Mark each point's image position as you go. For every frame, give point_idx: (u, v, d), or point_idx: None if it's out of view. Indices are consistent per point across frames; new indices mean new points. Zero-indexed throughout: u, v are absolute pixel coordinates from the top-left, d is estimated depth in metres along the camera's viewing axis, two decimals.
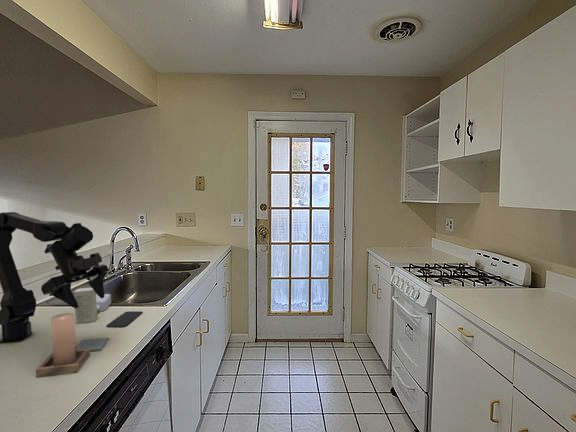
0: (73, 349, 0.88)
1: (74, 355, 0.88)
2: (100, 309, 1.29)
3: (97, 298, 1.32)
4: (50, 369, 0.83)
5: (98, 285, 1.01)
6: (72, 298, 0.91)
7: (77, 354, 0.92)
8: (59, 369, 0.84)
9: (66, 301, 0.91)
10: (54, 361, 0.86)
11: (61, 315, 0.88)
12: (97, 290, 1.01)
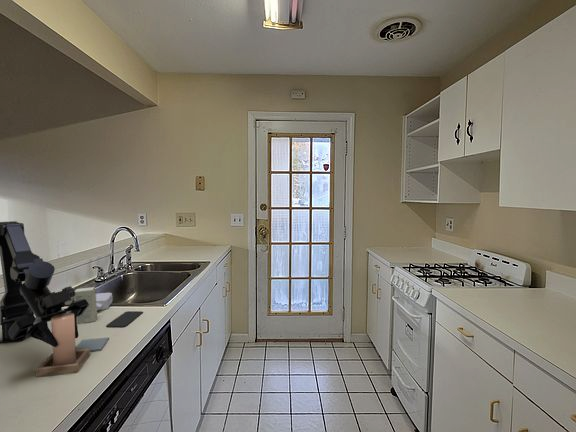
0: (73, 349, 0.88)
1: (74, 355, 0.88)
2: (102, 308, 1.31)
3: (99, 297, 1.33)
4: (50, 369, 0.83)
5: None
6: (50, 336, 0.84)
7: (77, 354, 0.92)
8: (59, 369, 0.84)
9: (45, 340, 0.85)
10: (54, 361, 0.86)
11: (61, 315, 0.88)
12: None
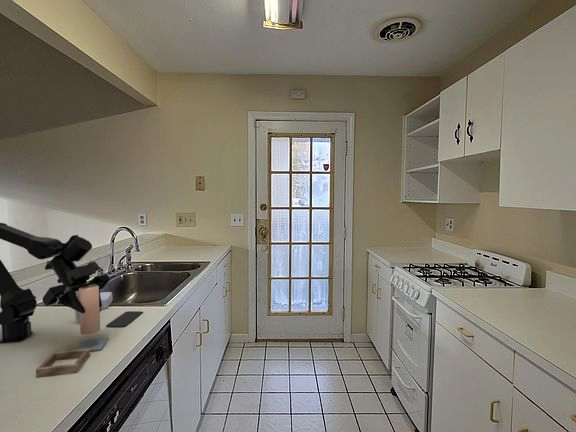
0: (98, 316, 0.99)
1: (98, 322, 1.00)
2: (102, 307, 1.32)
3: None
4: (50, 369, 0.83)
5: None
6: (78, 303, 0.95)
7: (77, 354, 0.92)
8: (59, 369, 0.84)
9: (73, 307, 0.96)
10: (81, 326, 0.97)
11: (87, 286, 0.99)
12: None
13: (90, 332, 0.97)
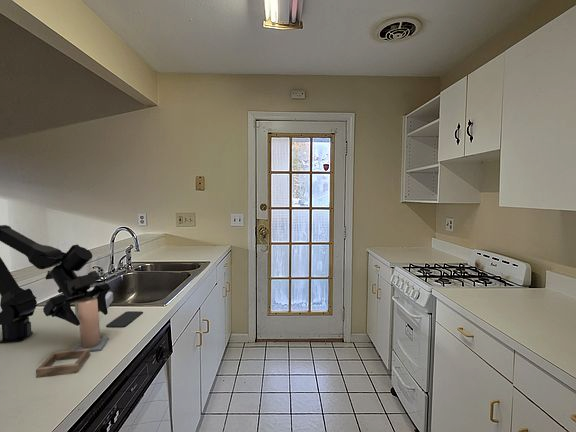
0: (98, 329, 0.99)
1: (99, 334, 1.00)
2: None
3: None
4: (50, 369, 0.83)
5: (100, 303, 1.04)
6: (73, 316, 0.94)
7: (77, 354, 0.92)
8: (59, 369, 0.84)
9: (68, 320, 0.94)
10: (81, 340, 0.97)
11: (86, 300, 0.99)
12: (100, 307, 1.04)
13: (91, 345, 0.97)
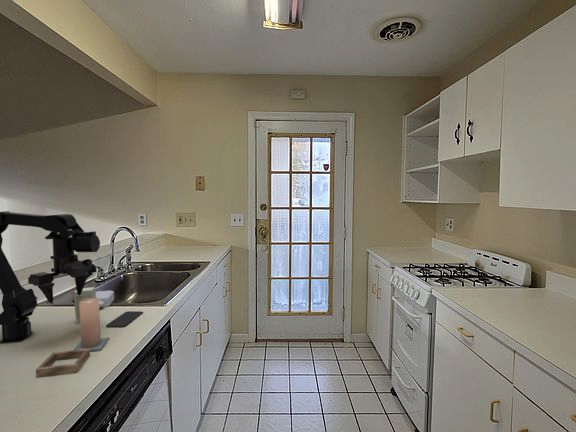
0: (98, 329, 0.99)
1: (99, 335, 1.00)
2: (104, 305, 1.34)
3: (101, 294, 1.36)
4: (50, 369, 0.83)
5: (80, 282, 1.09)
6: (50, 295, 1.00)
7: (77, 354, 0.92)
8: (59, 369, 0.84)
9: (45, 294, 1.00)
10: (82, 340, 0.97)
11: (88, 299, 0.99)
12: (77, 286, 1.09)
13: (91, 345, 0.97)
